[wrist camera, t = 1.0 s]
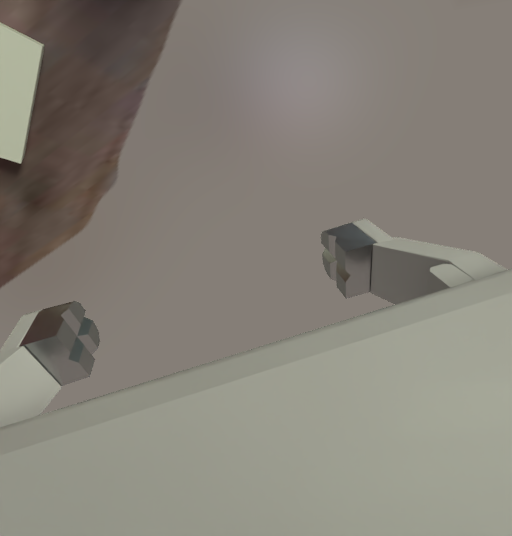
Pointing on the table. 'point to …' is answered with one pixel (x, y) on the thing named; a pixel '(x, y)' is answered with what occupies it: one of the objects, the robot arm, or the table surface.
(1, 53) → the pale green tile
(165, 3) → the table surface
